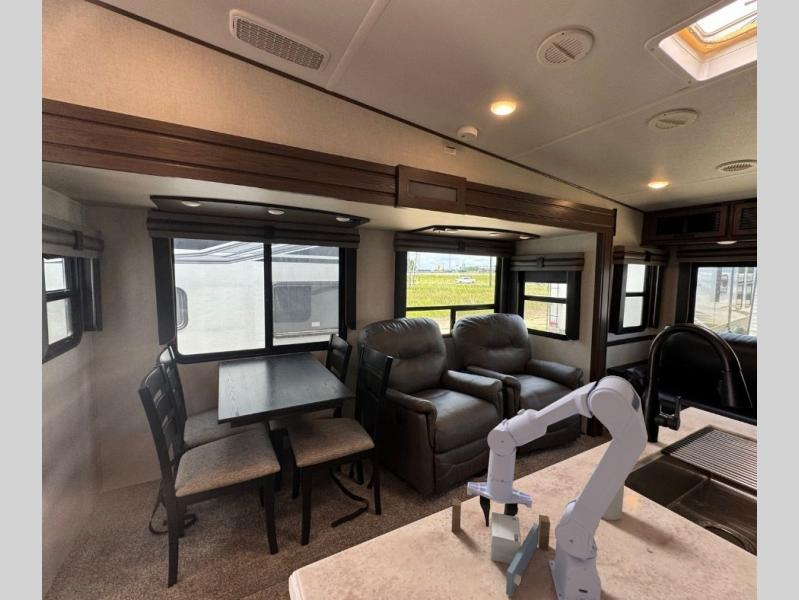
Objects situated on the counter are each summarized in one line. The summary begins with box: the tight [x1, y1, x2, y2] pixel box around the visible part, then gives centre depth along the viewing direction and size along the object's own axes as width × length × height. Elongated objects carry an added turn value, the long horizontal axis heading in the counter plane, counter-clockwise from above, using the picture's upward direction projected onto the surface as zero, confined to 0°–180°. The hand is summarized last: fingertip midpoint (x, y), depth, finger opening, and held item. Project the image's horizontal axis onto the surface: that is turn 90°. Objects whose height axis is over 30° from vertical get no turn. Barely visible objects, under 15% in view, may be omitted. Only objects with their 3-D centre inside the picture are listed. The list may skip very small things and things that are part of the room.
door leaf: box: [505, 522, 539, 598], centre depth 68 cm, size 2×16×5 cm, turn 139°
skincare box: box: [489, 511, 522, 565], centre depth 72 cm, size 6×6×7 cm
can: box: [590, 463, 626, 521], centre depth 86 cm, size 8×8×12 cm
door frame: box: [451, 498, 551, 552], centre depth 77 cm, size 2×22×7 cm, turn 76°
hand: (495, 525), depth 77 cm, fingers open, 3 cm apart
